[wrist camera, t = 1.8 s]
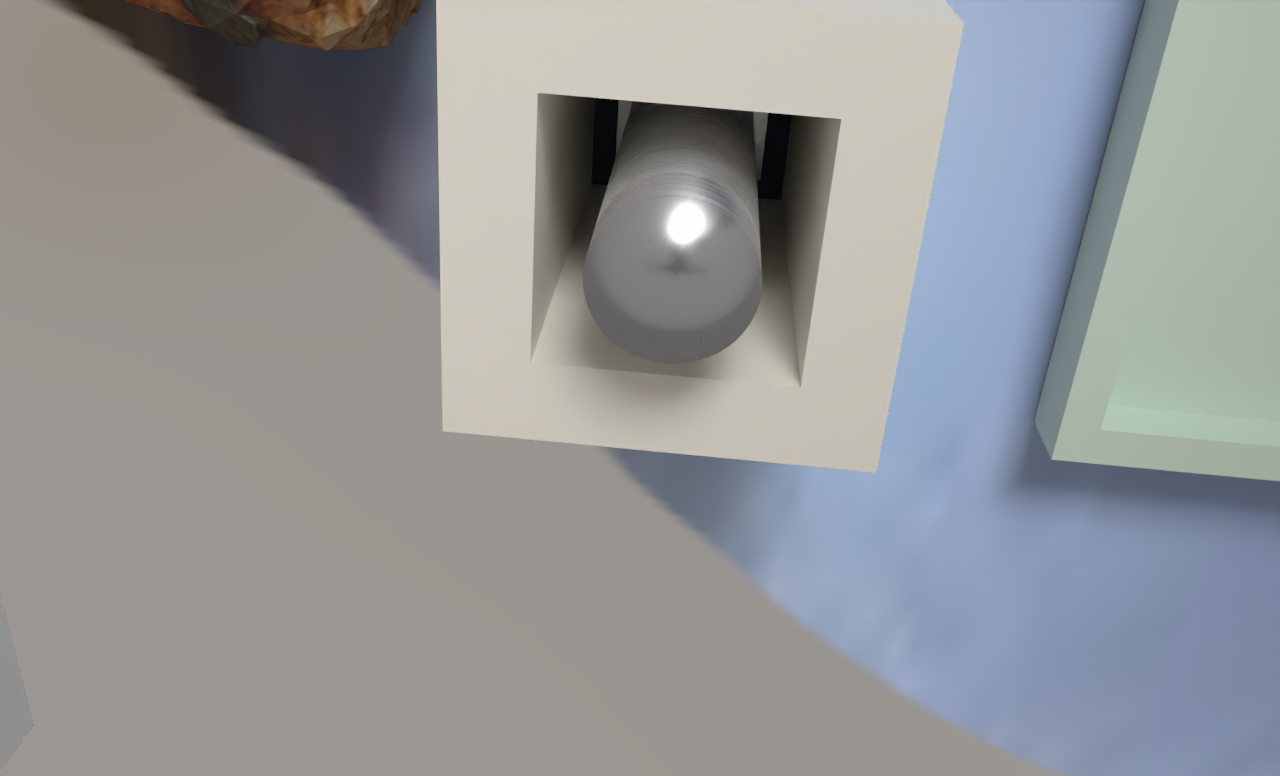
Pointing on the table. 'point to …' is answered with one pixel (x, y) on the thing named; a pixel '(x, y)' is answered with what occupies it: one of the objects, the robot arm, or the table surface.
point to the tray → (1180, 258)
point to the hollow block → (789, 228)
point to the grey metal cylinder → (678, 232)
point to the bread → (294, 20)
